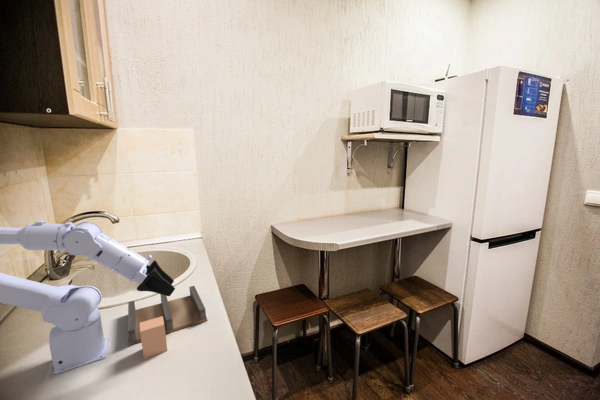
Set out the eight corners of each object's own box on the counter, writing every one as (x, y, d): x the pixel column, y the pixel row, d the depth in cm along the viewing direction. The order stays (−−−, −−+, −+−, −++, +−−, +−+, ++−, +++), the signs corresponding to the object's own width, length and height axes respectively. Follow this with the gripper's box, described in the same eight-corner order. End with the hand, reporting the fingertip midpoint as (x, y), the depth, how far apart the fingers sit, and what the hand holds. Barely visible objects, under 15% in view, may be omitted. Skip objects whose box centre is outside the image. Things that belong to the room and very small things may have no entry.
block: (143, 358, 65) (140, 331, 63) (143, 348, 68) (139, 322, 67) (167, 350, 67) (164, 324, 66) (165, 341, 71) (162, 316, 69)
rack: (128, 345, 69) (126, 331, 68) (129, 314, 83) (127, 302, 82) (207, 320, 79) (206, 308, 78) (195, 296, 92) (195, 285, 92)
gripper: (130, 249, 60) (184, 281, 65) (135, 241, 73) (180, 268, 78) (106, 277, 58) (163, 308, 63) (116, 264, 71) (163, 291, 76)
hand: (171, 288), depth 70 cm, fingers open, 7 cm apart
